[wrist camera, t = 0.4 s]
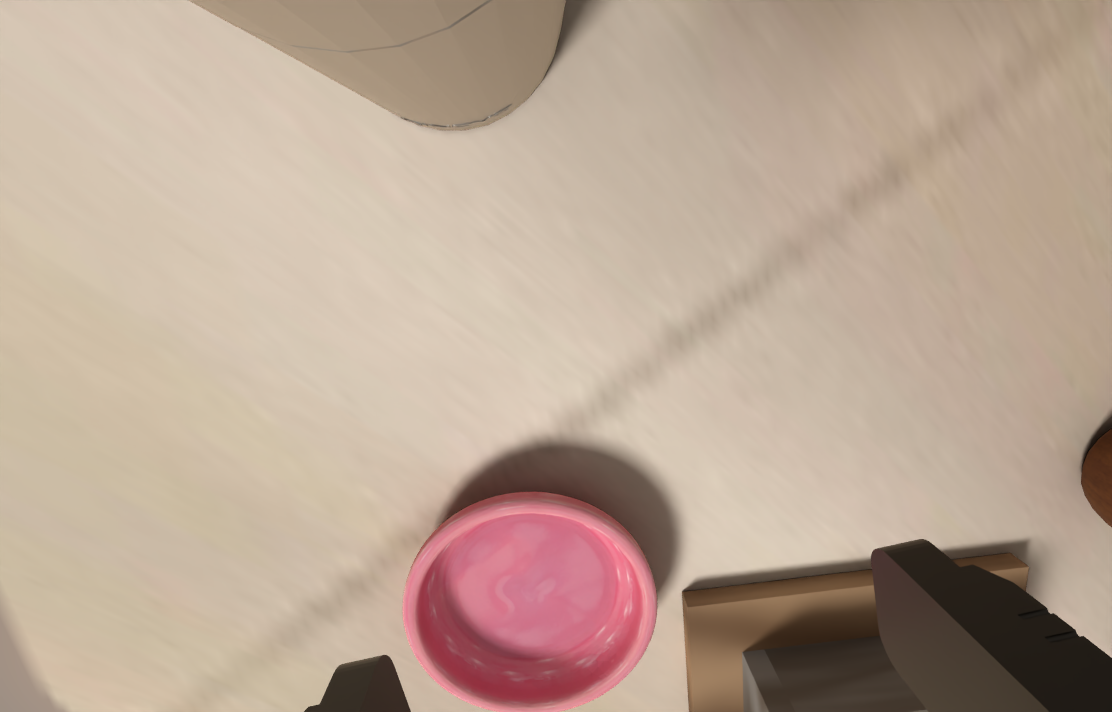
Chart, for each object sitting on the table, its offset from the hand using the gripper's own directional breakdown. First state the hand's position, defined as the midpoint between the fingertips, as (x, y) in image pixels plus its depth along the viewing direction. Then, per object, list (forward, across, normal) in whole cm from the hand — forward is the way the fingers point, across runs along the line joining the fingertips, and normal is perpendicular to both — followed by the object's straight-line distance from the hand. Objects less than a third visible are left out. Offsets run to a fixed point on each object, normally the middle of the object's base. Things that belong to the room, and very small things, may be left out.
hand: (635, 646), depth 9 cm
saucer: (+19, +5, +11) cm, 23 cm away
